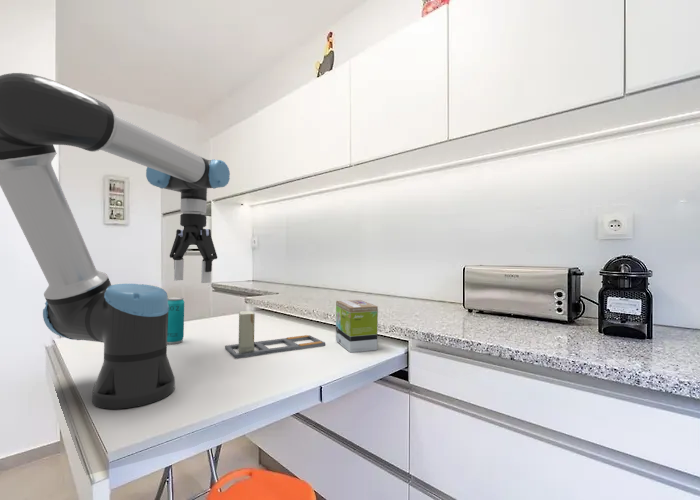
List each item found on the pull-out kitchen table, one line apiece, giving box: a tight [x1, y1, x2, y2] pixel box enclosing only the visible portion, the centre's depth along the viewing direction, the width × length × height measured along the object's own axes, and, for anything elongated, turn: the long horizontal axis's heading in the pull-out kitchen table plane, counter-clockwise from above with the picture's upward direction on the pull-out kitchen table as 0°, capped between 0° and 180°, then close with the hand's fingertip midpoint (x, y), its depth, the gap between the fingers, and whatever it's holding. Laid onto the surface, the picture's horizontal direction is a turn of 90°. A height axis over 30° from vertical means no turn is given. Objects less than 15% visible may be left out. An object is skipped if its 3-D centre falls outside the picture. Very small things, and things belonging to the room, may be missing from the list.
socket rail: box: [224, 334, 326, 360], centre depth 115 cm, size 12×30×1 cm, turn 123°
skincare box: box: [237, 310, 256, 353], centre depth 109 cm, size 6×4×12 cm
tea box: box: [335, 299, 379, 353], centre depth 118 cm, size 15×10×15 cm
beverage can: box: [167, 296, 185, 345], centre depth 118 cm, size 6×6×15 cm
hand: (191, 281), depth 109 cm, fingers open, 13 cm apart
